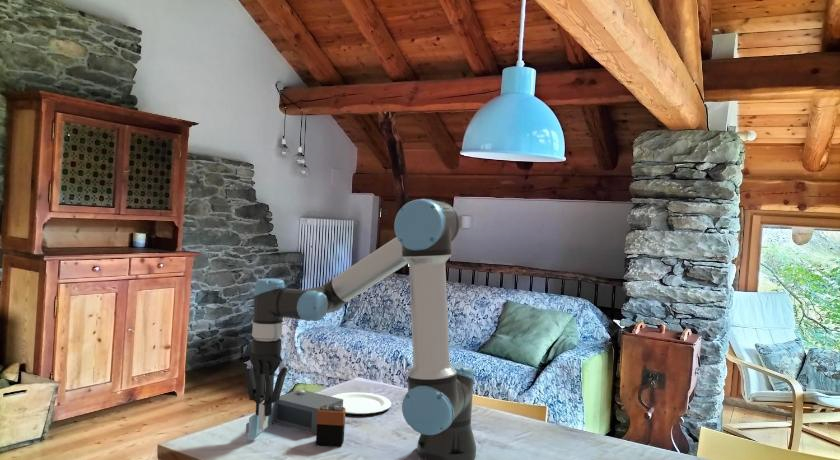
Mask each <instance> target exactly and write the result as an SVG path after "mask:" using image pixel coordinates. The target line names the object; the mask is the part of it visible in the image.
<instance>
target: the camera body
mask: <svg viewBox="0 0 840 460" xmlns="http://www.w3.org/2000/svg"><path fill="white" fill-rule="evenodd" d="M331 396H332V395H331ZM331 396H330V395H326V394H322V393H318V392H314V391H308V390H304V389H299V388H298V389H295V390H292V391H290V392H287V393H284V394H282V395H281V394H280V397H279V400H277V401H276V402H275V413H274V423H273V424H276V425H279V426H284V427H286V428H291V429H295V430H299V431H303V432H305V433H310V434H313V435H316V432H317V413H318V410H319V408H320V407H321V406H322V405H328V406H329V407H334V406H335V405H342V407H343V399H340V398H335V397H331Z"/></svg>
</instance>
